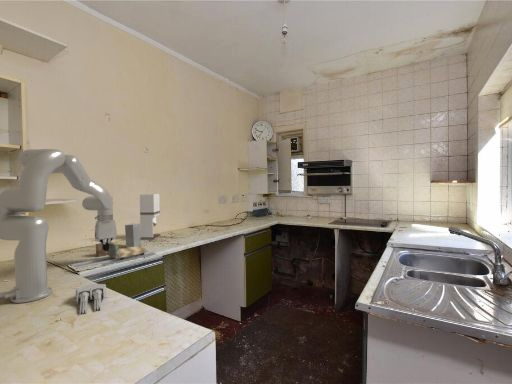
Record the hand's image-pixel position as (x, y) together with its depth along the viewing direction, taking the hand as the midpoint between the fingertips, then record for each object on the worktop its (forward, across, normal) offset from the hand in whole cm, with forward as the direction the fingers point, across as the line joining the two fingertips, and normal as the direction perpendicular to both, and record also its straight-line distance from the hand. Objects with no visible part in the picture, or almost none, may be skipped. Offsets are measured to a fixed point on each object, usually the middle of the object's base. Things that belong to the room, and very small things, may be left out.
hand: (106, 250), depth 149 cm
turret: (+7, -23, -49) cm, 55 cm away
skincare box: (+6, +26, +22) cm, 34 cm away
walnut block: (+6, +4, +16) cm, 18 cm away
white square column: (+6, +46, +38) cm, 61 cm away
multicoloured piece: (+6, +12, 0) cm, 13 cm away
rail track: (+6, +4, 0) cm, 8 cm away
